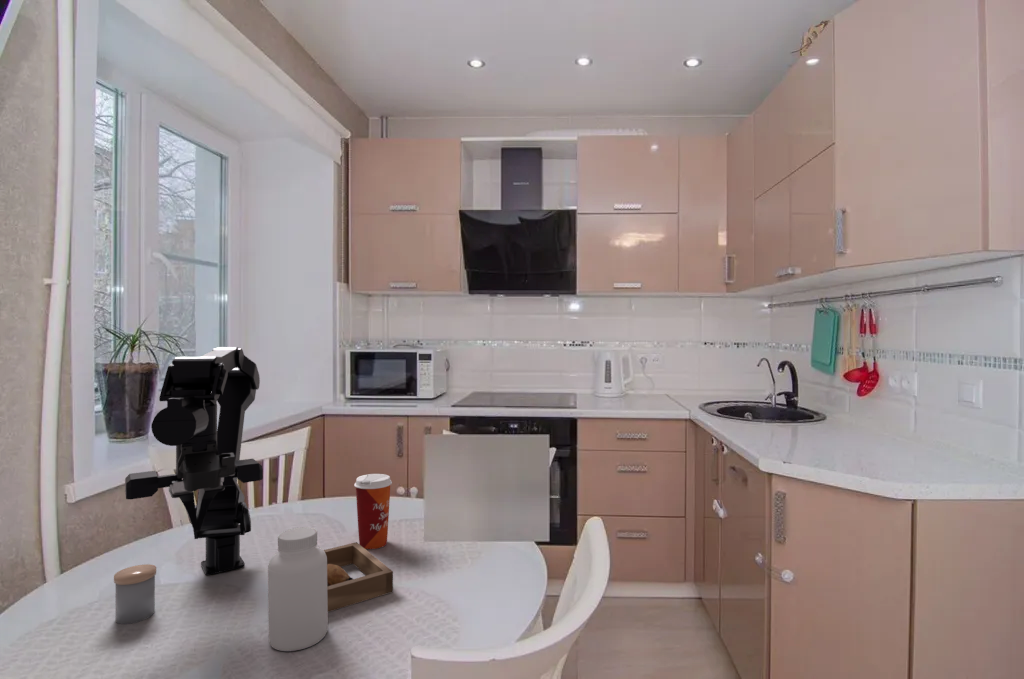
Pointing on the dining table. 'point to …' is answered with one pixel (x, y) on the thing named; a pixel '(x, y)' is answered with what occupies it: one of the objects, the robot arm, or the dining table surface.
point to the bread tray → (359, 588)
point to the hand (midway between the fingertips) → (196, 530)
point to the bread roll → (336, 575)
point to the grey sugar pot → (135, 593)
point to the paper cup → (373, 509)
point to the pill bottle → (297, 591)
